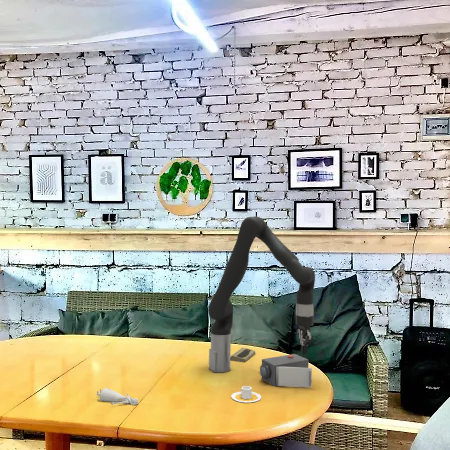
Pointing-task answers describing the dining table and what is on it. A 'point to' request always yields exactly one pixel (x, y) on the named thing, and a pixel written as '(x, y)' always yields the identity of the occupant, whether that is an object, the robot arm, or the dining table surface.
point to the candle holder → (246, 394)
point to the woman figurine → (115, 397)
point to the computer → (242, 355)
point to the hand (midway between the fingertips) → (304, 353)
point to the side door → (293, 376)
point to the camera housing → (281, 361)
